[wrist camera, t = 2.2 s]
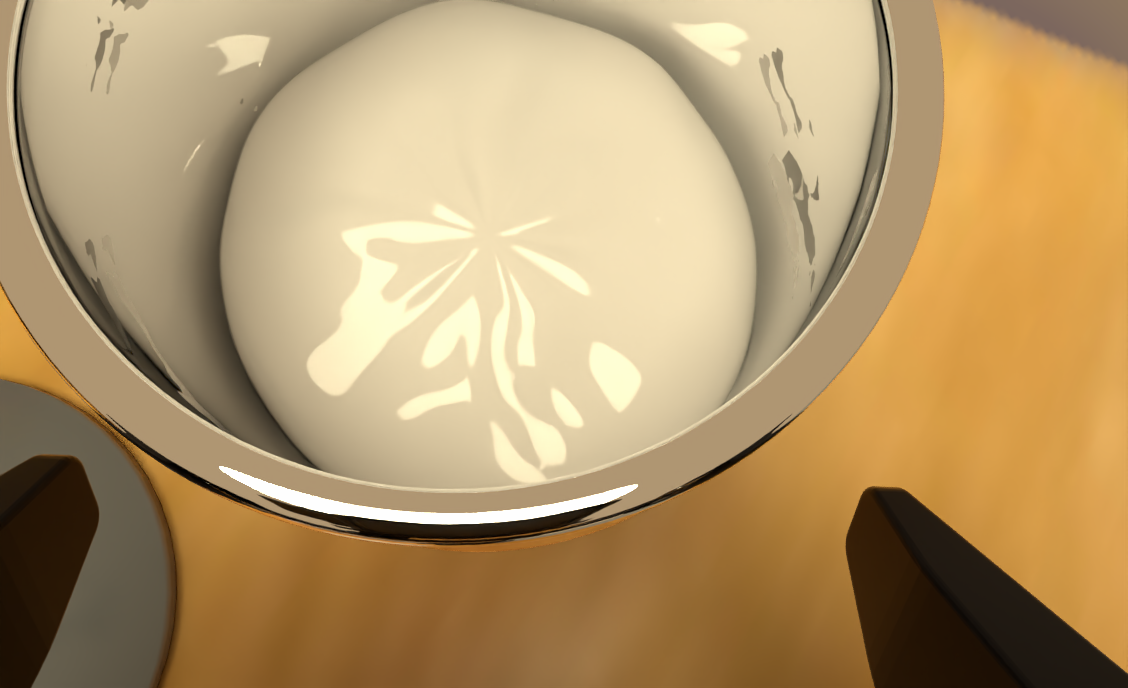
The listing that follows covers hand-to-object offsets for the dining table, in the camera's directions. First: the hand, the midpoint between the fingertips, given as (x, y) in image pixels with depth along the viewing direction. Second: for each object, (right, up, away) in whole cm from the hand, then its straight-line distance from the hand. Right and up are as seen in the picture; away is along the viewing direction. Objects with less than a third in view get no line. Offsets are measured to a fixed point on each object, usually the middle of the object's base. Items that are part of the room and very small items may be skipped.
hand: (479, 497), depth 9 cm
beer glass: (0, +1, +11) cm, 11 cm away
